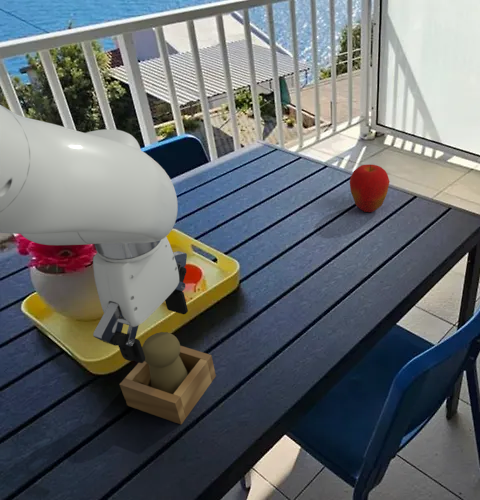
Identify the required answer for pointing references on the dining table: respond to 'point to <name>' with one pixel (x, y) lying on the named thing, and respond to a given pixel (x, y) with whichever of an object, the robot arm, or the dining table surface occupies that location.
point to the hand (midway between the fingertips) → (157, 333)
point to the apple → (369, 187)
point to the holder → (165, 403)
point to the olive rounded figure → (164, 362)
